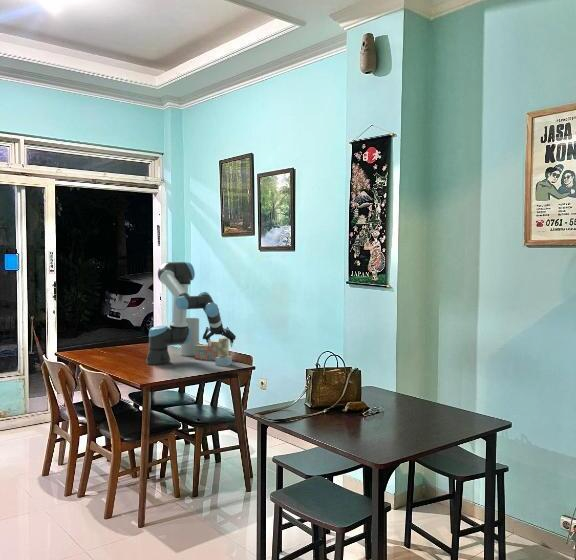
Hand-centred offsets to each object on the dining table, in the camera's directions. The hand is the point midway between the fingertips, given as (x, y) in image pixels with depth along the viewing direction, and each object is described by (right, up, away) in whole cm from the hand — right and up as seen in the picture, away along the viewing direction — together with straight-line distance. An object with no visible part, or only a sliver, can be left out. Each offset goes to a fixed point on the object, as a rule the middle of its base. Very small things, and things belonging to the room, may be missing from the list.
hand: (221, 345), depth 358 cm
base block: (+1, -13, +7) cm, 15 cm away
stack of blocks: (-9, -13, +26) cm, 30 cm away
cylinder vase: (-27, -12, +43) cm, 52 cm away
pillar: (+1, -8, +6) cm, 10 cm away
